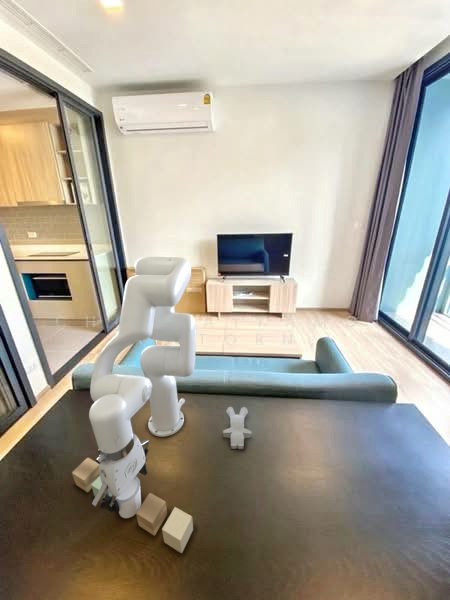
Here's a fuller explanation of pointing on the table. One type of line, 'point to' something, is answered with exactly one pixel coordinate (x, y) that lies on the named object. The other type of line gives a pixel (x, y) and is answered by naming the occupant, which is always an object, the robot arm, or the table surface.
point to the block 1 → (86, 474)
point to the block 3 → (151, 513)
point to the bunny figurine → (237, 428)
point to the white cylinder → (130, 499)
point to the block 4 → (177, 529)
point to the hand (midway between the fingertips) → (129, 489)
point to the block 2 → (97, 486)
